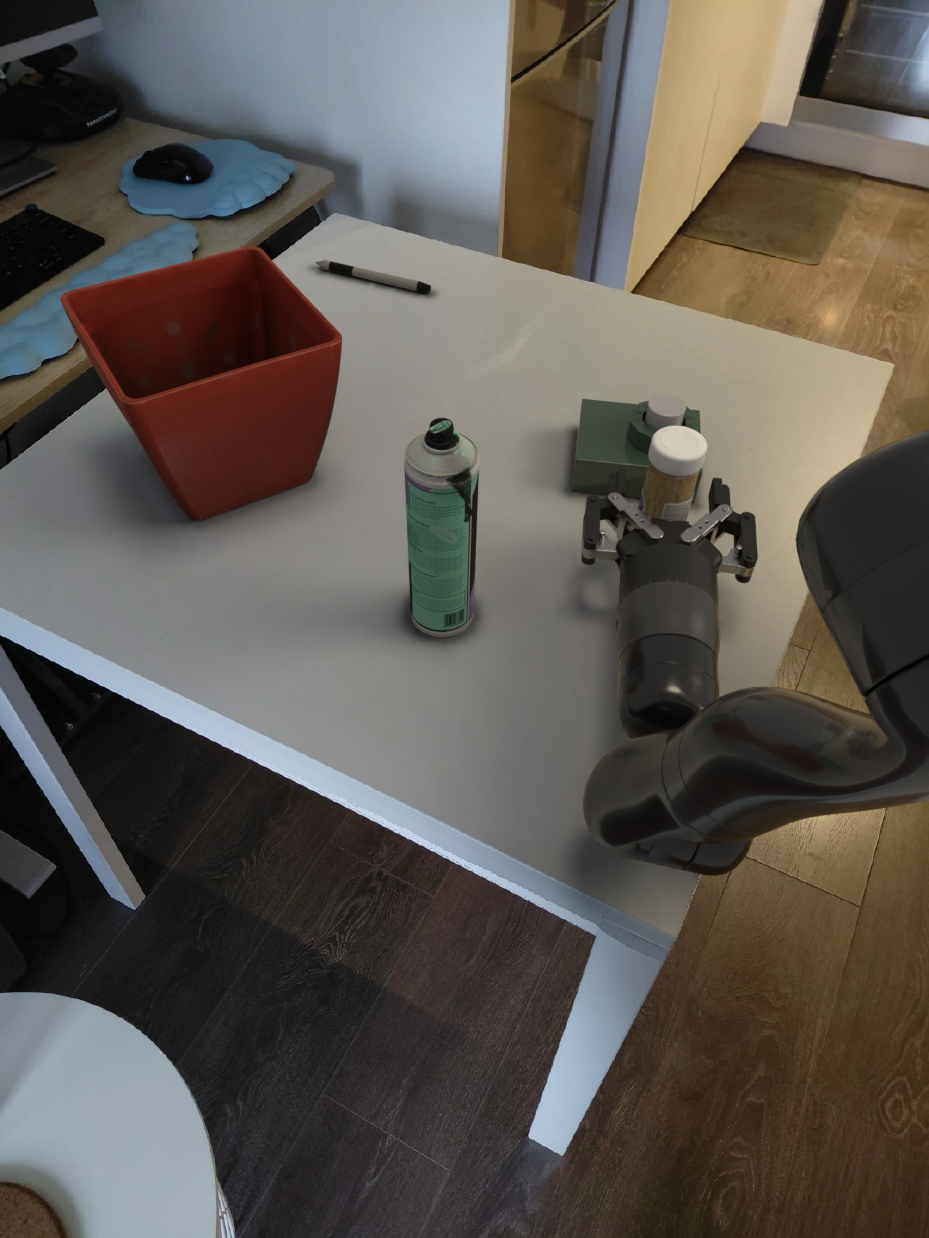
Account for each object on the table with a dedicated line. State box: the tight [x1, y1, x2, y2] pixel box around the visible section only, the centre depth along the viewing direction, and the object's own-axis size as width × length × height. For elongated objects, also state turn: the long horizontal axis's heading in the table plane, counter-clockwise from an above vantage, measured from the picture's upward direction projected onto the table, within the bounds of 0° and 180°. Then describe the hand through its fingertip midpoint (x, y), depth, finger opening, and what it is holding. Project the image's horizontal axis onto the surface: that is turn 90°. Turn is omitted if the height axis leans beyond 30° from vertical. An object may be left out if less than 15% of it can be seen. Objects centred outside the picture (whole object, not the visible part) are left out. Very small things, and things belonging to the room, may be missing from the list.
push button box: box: [571, 398, 704, 505], centre depth 90 cm, size 12×10×6 cm
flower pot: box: [59, 246, 343, 522], centre depth 84 cm, size 19×19×17 cm
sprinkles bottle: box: [637, 426, 708, 521], centre depth 78 cm, size 5×5×14 cm
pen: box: [314, 259, 432, 294], centre depth 115 cm, size 1×16×1 cm, turn 68°
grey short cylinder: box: [645, 393, 687, 431], centre depth 87 cm, size 4×4×2 cm
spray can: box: [403, 417, 480, 638], centre depth 71 cm, size 6×6×20 cm
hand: (667, 480), depth 79 cm, fingers open, 7 cm apart
